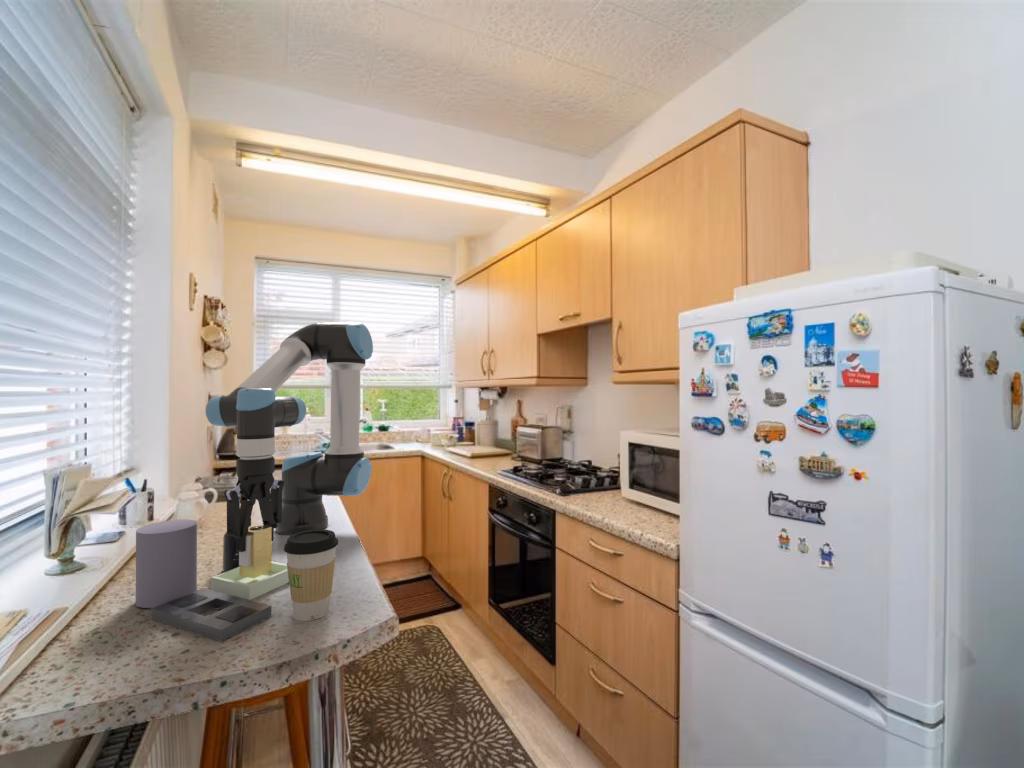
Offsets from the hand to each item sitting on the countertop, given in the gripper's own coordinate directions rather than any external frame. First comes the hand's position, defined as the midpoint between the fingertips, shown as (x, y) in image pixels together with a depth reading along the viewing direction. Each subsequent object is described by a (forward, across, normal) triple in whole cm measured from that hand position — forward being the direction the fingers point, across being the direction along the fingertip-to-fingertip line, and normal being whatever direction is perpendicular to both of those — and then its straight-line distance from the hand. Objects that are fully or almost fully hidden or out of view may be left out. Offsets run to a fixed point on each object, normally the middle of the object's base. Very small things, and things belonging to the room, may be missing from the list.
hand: (255, 561), depth 105 cm
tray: (+5, 0, 0) cm, 5 cm away
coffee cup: (+5, +5, +22) cm, 23 cm away
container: (+5, +12, -11) cm, 17 cm away
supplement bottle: (+5, -5, -12) cm, 14 cm away
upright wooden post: (+3, 0, 0) cm, 3 cm away
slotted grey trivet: (+5, +14, +6) cm, 16 cm away
